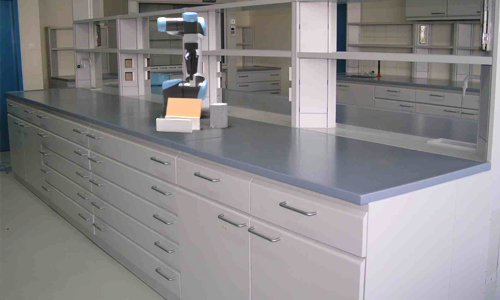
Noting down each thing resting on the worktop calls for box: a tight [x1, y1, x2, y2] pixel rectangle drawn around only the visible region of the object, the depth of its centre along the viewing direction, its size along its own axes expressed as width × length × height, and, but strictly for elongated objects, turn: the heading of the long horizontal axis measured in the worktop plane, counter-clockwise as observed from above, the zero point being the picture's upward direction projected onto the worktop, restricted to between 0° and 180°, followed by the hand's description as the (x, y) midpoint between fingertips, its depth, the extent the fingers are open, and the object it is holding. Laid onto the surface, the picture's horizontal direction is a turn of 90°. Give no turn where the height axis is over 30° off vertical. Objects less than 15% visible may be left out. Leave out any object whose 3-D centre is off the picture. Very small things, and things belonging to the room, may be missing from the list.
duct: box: [155, 116, 201, 134], centre depth 285 cm, size 10×20×6 cm, turn 69°
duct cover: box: [166, 98, 204, 118], centre depth 290 cm, size 10×20×1 cm
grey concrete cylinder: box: [209, 102, 229, 129], centre depth 295 cm, size 10×10×12 cm
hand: (192, 86), depth 298 cm, fingers closed
